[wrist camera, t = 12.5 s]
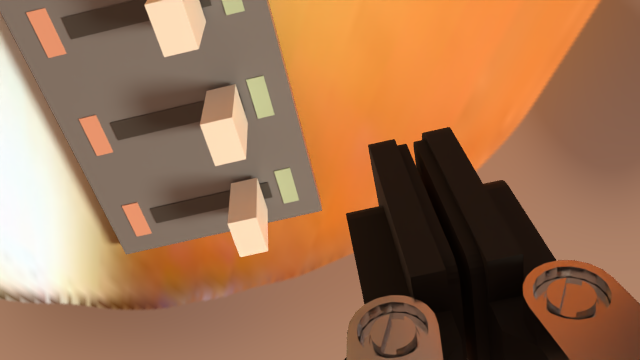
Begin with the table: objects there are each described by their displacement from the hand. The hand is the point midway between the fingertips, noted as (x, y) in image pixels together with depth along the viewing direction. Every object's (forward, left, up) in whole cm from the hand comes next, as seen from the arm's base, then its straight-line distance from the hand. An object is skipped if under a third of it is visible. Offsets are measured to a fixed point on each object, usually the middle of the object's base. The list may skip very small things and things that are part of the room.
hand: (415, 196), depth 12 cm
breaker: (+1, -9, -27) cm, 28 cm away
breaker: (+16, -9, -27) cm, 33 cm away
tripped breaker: (+9, -8, -27) cm, 30 cm away
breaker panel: (+9, -12, -29) cm, 32 cm away
